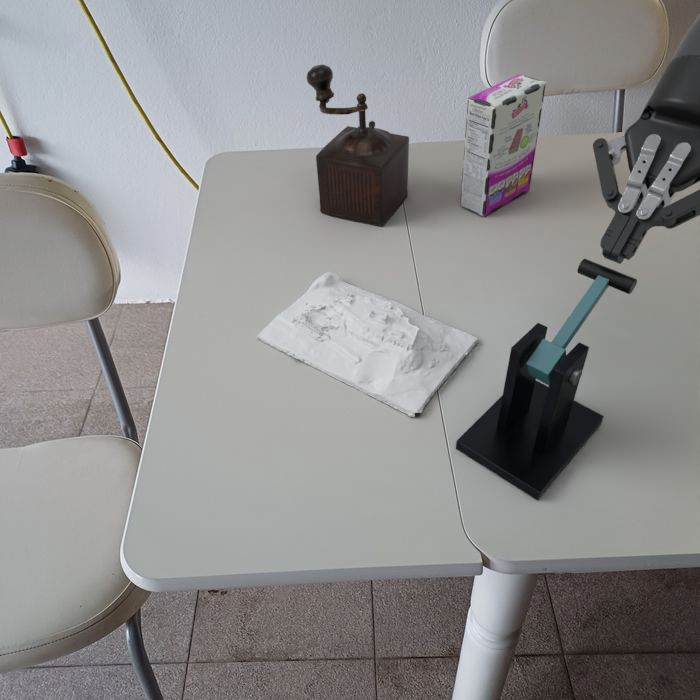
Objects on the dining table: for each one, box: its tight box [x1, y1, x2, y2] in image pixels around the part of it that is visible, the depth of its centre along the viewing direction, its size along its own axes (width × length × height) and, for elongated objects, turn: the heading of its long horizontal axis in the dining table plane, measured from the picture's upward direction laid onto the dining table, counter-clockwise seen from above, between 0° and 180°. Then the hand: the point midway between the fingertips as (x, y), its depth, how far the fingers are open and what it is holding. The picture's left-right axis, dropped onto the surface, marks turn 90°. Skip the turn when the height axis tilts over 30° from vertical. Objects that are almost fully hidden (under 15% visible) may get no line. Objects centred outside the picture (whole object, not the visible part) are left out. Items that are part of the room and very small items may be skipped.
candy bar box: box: [459, 74, 547, 218], centre depth 91 cm, size 11×5×16 cm, turn 132°
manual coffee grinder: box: [306, 64, 410, 227], centre depth 92 cm, size 16×11×18 cm
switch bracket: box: [455, 322, 604, 501], centre depth 59 cm, size 12×9×12 cm
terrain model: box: [257, 271, 479, 418], centre depth 73 cm, size 17×23×5 cm
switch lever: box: [526, 258, 638, 386], centre depth 57 cm, size 12×5×2 cm, turn 137°
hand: (611, 258), depth 57 cm, fingers closed
